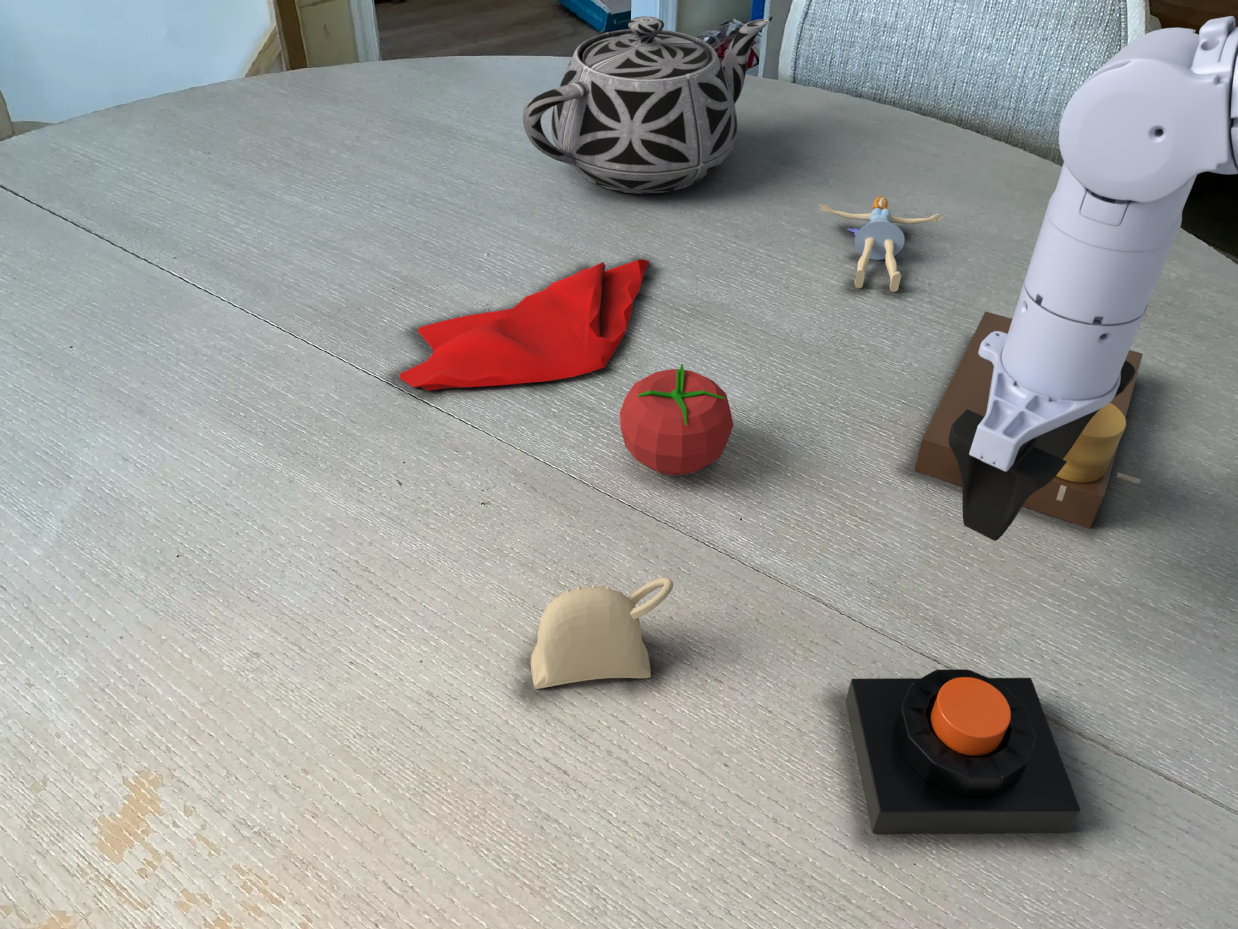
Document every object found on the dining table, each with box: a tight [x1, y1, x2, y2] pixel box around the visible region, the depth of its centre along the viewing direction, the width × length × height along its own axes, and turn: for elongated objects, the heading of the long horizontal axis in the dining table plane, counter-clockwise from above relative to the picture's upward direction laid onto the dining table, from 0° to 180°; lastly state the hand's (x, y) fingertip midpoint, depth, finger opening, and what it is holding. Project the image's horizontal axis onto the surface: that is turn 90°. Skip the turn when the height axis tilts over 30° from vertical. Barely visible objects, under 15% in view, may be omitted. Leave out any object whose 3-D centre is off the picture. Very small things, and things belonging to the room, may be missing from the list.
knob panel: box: [913, 311, 1144, 529], centre depth 74 cm, size 14×20×3 cm
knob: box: [1056, 403, 1127, 483], centre depth 67 cm, size 4×4×4 cm
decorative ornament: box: [530, 576, 674, 690], centre depth 58 cm, size 4×8×5 cm, turn 96°
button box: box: [845, 668, 1081, 834], centre depth 53 cm, size 10×8×4 cm
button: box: [931, 677, 1011, 756], centre depth 51 cm, size 4×4×2 cm
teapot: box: [522, 15, 769, 195], centre depth 103 cm, size 19×31×15 cm, turn 127°
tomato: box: [619, 363, 735, 477], centre depth 70 cm, size 8×8×8 cm
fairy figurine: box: [818, 195, 945, 293], centre depth 92 cm, size 12×5×12 cm
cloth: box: [399, 258, 650, 392], centre depth 83 cm, size 26×14×2 cm, turn 124°
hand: (1011, 493), depth 59 cm, fingers open, 7 cm apart
